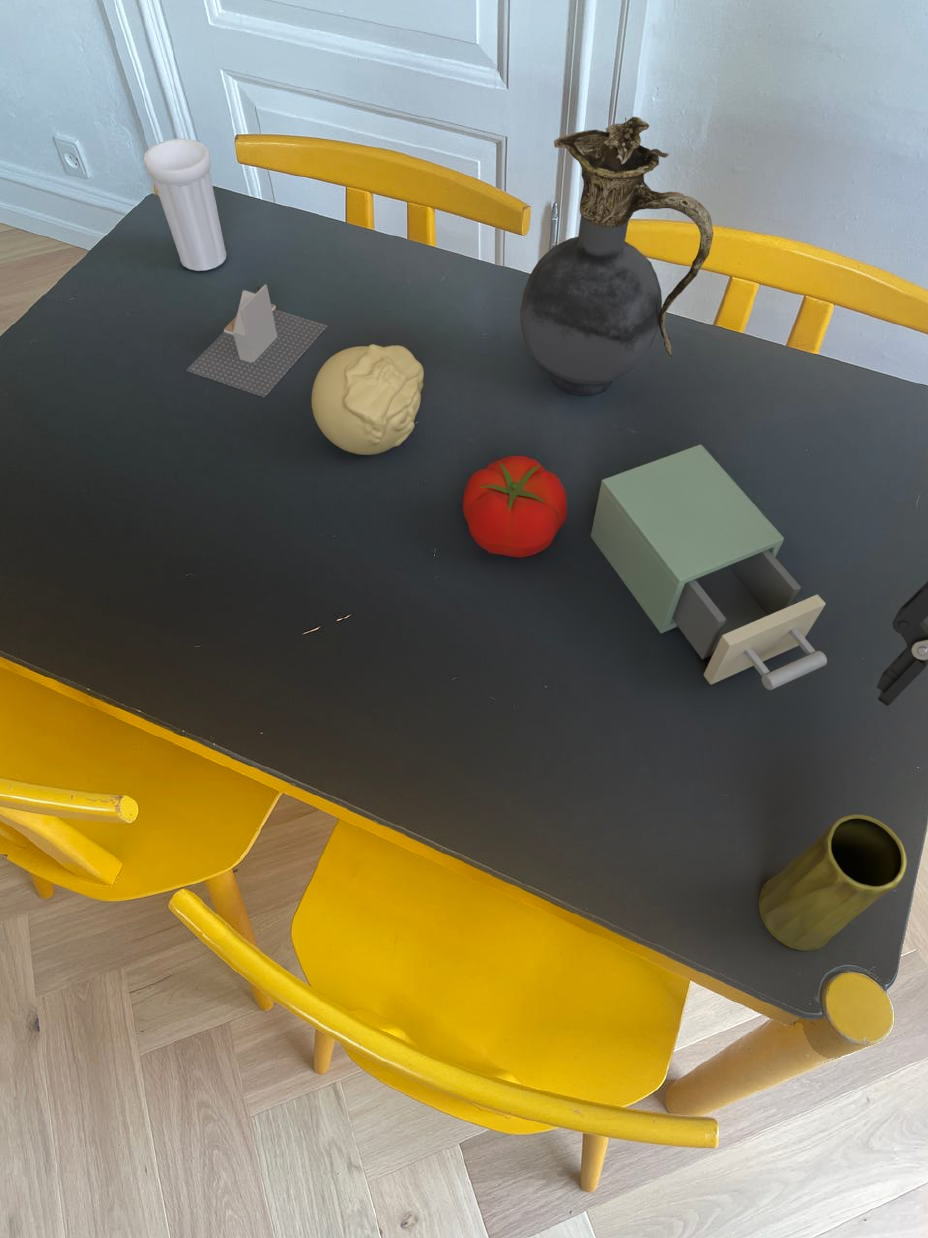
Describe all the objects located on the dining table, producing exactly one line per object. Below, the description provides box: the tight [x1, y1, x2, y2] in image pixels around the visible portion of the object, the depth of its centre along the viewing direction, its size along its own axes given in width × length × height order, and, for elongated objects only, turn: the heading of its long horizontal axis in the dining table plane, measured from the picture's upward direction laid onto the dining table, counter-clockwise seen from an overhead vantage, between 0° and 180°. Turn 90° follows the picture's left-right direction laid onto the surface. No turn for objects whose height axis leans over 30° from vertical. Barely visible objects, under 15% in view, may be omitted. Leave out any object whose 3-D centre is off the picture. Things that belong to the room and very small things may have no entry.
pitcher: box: [519, 116, 714, 397], centre depth 92 cm, size 11×19×30 cm, turn 65°
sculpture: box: [311, 343, 425, 456], centre depth 94 cm, size 12×12×11 cm
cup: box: [143, 138, 227, 272], centre depth 112 cm, size 8×8×14 cm
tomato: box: [462, 455, 568, 559], centre depth 88 cm, size 11×11×8 cm
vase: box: [758, 814, 908, 952], centre depth 63 cm, size 6×6×14 cm
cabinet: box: [590, 444, 785, 634], centre depth 85 cm, size 14×12×9 cm
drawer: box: [672, 550, 828, 691], centre depth 80 cm, size 17×10×7 cm, turn 25°
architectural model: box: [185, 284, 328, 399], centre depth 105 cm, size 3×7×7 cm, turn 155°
